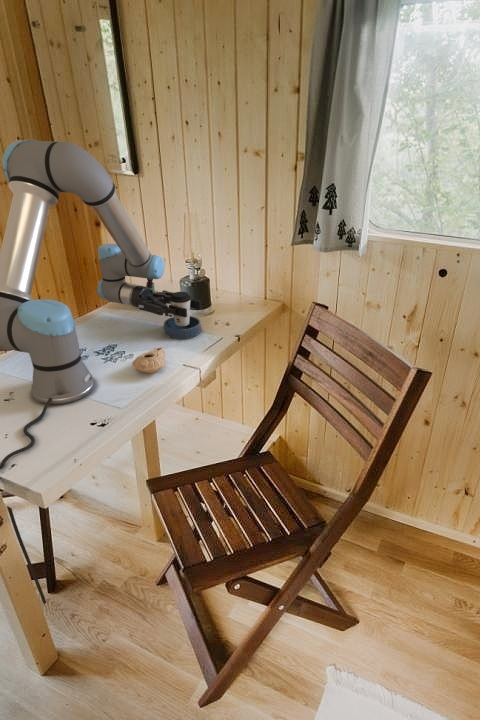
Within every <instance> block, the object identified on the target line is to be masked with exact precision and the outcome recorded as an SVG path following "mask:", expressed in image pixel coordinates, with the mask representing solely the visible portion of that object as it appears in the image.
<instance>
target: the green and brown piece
mask: <svg viewBox="0 0 480 720" xmlns="http://www.w3.org/2000/svg"><path fill="white" fill-rule="evenodd" d="M153 280H154V279H147V278H146V284H145V287H149V288H150V289H151V290H152V291H153V293H154V292H156V293H163V292H162V291H158V290H155V283H154V282H153Z"/></svg>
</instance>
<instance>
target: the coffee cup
mask: <svg viewBox="0 0 480 720" xmlns="http://www.w3.org/2000/svg"><path fill="white" fill-rule="evenodd" d="M191 299H192V296H191V295H190V294H189V293H188V292H187V291H175V292H174V293H173V294H172V296H170V298H169V300H170V302H171V304H170V305H173V306H177V307H182V308H186V309H187V317H182V316H177V315H173V314H172V317H174V320H175V324H176V325H177V326H186V325H188V324H189V319H190V316H191V307H190V300H191Z"/></svg>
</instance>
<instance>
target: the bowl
mask: <svg viewBox="0 0 480 720" xmlns="http://www.w3.org/2000/svg"><path fill="white" fill-rule="evenodd" d="M201 325H202V324H201V320H200V318H198V317H195V316H192V315H190V319H189V324H188V325H186V326H177V325H176V324H175V320H174V316H171V317H169V318H167V319H165V320H164V321H163V332H164V334H165V336H167V337H169V338H171V339H174V340H188V339H193V338H195V337H197V336H198V335H200V333H202V326H201Z"/></svg>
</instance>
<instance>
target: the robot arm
mask: <svg viewBox="0 0 480 720" xmlns="http://www.w3.org/2000/svg"><path fill="white" fill-rule="evenodd" d="M1 161H2V163H1V164H2V169H3V170H4V172H3V174H4V177H5V179H6V180H7V182H8V184H7V185H8V188H9V190H10V191H11V193H12V200H11V203H10V207H9V213H8V217H7V221H6V225H5V229H4V235H3V239H2V243H1V248H0V349H3V350H7V351H8V350H9V351H15V352H20V353H27V354H28V355H29V358H30V360H31V364H32V368H33V369H32V383H31V393H32V396H33V398H34V400H35V401H37V402H38V403H40V404H45V405H44V406H43V408H42V411H41V413H40V414H39V416H37V417H36V418H35V419H33V420H32V421H29V422H28V423H27V424H26V425H24V427H23V429H22V431H23V434H24V435H25V436H26V437H27V438H29V439H30V443H28V445H26V446H23V447H21V448H19V449H16V450H13V451H11V452H10V453H9V454H7V455H5V457H4V458H3V459H2V460H1V462H0V470H3V468H4V467H5V464H6V463H7V461H8V460H9V459H10V458H12V457H13V456H15V455H18V454H20V453H22V452H26V451H27V450H29V449H31V448H32V447H33V446H34V444H35V442H36V439H35V437H34V435H33V434H31V433H30V432H28V429H29V427H31V426H33V425H34V424H36V423H38V422H39V421H41V419H43V417H44V416H45V415H46V412H47V410H48V408H49V406H50V405H52V406H53V405H54V406H55V405H57V406H58V405H66V404H70V403H73V402H76V401H79V400H82V399H84V398H85V397H87V396H88V395H90V394H91V393H92V392H93V390H95V381H94V377H93V375H92V373H91V372H90V370H89V368H88V367H87V366H86V364H85V362H84V361H83V359H82V354H81V348H80V345H79V341H78V340H79V339H78V335H77V329H76V323H75V320H74V318H73V315H72V311H71V309H70V308H69V307H68V306H67V305H66V304H65V303H63V302H61V301H58V300H53V299H49V298H43V299H34V298H33V297H32V290H33V285H34V282H35V281H34V280H35V277H36V271H37V267H38V262H39V257H40V253H41V249H42V245H43V240H44V236H45V232H46V231H45V230H46V226H47V222H48V217H49V212H50V209H51V208H52V207H54V206H57V205H58V202H59V198H60V193H71V194H73V195H76V197H77V196H78V197H79V198H80V199H81V201H82V202H83V203H84V205H86V206H88V207H91V209H92V211H93V212H94V213H95V214H96V216H97V218H98V219H99V221H100V222H101V224H102V225H103V227H104V229H105V230H106V231H107V232H108V234H109V236H110V237H111V238H112V240H113V241H114V243H104V244H101V245H99V246H98V247H97V255H98V263H99V268H100V272H101V279H100V280H99V281H98V283H97V287H96V292H97V295H98V296H99V298H101V299H102V300H104V301H108V302H110V303H117V304H121V305H124V306H129V307H131V308H137V309H138V310H140V311H145V312H148V313H152V314H155V315H158V316H164V317H169V316H170V315H172V316H173V315H177V316H182V317H187V309H186V308H182V307H177V306H173V305H171V302H170V300H169V298H170V296H172V294H173V293H175V292H172V291H168V290H165V289H164V290H162V291H161V292H163V293H156V292H157V291H156V292H155V291H154V293H153V291H152V290H151V289H150V288H149V287H146V285H145V286H144V285H140V284H137V283H131V282H126V277H132V278H139V279H146V280H147V279H153V280H159V279H161V278H162V277H163V275H164V272H165V261H164V259H163V258H162V257H161V256H160V255H156V254H152V253H151V251H150V250H149V248H148V246H147V245H146V243H145V241H144V239H143V238H142V236H141V234H140V232H139V231H138V229H137V228H136V226H135V224H134V223H133V221H132V219H131V217H130V215H129V214H128V212H127V210H126V209H125V207H124V205H123V204H122V202H121V200H120V199H119V197H118V195H117V193H116V191H117V187H116V184H115V183H114V181H113V179H112V178H111V175H110V174H109V173H108V171H107V170H106V169H105V168H104V166H103V165H102V164H101V163H100V162H99V161H98V160H97V159H96V158H95V157H94V156H93V155H92V154H91V153H90V152H88V151H87V150H85V148H83V147H80V146H79V145H77V144H75V143H73V142H69V141H47V140H46V141H45V140H35V139H24V140H15V141H13V142H12V143H9V145H8V146H7V147H6V148H5V150H4V152H3V155H2V160H1ZM168 304H169V305H168ZM190 309H195V310H202V301H201V300H197V299H194V298H191V300H190ZM6 508H7V511H8V515H9V518H10V522H11V524H12V527H13V531H14V533H15V536H16V539H17V541H18V543H19V544H18V545H19V546H20V549H21V551H22V554H23V556H24V559H25V561H26V564H27V566H28V568H29V571H30V574H31V576H32V578H33V580H34V583H35V585H36V588H37V591H38V593H39V596H40V598H41V601H42V604H43V605H45V604H47V600H46V597H45V594H44V591H43V588H42V586H41V584H40V581H39V579H38V577H37V573H36V571H35V569H34V566H33V564H32V561H31V559H30V557H29V554H28V552H27V551H28V550H27V549H26V546H25V544H24V541H23V539H22V536H21V533H20V531H19V528H18V524H17V522H16V519H15V515H14V512H13V509H12V507H10V506H8V505H6Z"/></svg>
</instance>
